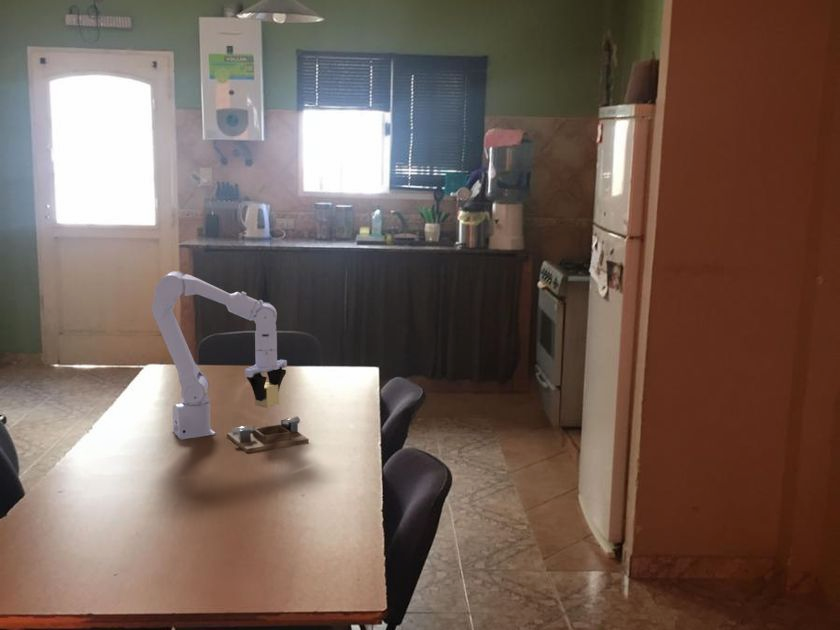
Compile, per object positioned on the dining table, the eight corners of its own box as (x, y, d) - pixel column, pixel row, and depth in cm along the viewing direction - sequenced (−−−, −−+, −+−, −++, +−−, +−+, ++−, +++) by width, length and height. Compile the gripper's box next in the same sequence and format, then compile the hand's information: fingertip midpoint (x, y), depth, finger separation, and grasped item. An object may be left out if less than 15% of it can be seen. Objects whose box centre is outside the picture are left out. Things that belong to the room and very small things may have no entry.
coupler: (266, 408, 233) (265, 388, 232) (254, 405, 236) (253, 386, 235) (279, 403, 237) (279, 384, 236) (267, 400, 240) (267, 381, 239)
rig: (246, 452, 220) (246, 441, 219) (226, 436, 232) (226, 425, 232) (308, 442, 229) (308, 431, 228) (286, 427, 241) (286, 417, 241)
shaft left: (233, 443, 224) (233, 429, 223) (231, 439, 227) (231, 425, 227) (255, 441, 226) (255, 428, 225) (253, 437, 229) (253, 424, 229)
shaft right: (292, 428, 238) (292, 415, 237) (302, 430, 236) (301, 417, 235) (279, 432, 234) (279, 419, 233) (289, 434, 232) (289, 421, 231)
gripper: (258, 355, 226) (259, 406, 228) (295, 346, 238) (295, 394, 240) (238, 352, 229) (239, 401, 232) (275, 343, 241) (276, 390, 244)
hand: (266, 397), depth 236 cm, fingers closed on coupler, 5 cm apart
